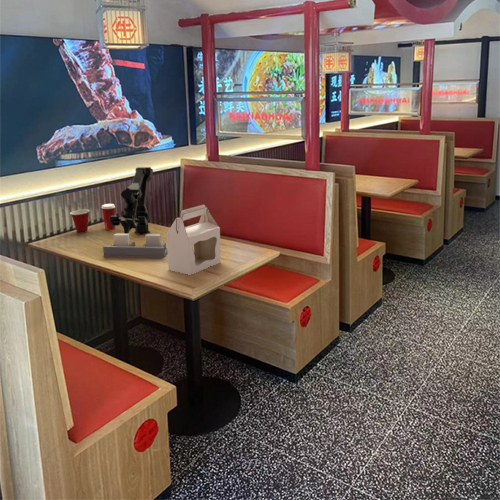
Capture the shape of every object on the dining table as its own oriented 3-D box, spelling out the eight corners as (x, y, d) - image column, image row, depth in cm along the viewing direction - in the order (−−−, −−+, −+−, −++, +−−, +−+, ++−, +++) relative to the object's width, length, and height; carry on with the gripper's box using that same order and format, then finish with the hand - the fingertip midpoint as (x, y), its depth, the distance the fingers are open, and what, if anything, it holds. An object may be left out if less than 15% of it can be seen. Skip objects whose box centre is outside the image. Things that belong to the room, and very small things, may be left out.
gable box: (189, 276, 241) (186, 214, 233) (167, 270, 249) (164, 210, 240) (221, 262, 258) (219, 204, 250) (200, 257, 266) (198, 201, 257)
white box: (148, 249, 275) (147, 233, 273) (161, 249, 275) (160, 234, 272) (146, 251, 272) (145, 235, 270) (160, 251, 272) (159, 235, 269)
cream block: (117, 248, 277) (115, 233, 274) (130, 248, 276) (129, 233, 274) (114, 250, 274) (113, 235, 271) (128, 250, 273) (127, 235, 271)
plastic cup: (73, 229, 316) (71, 209, 313) (93, 228, 318) (91, 208, 314) (70, 234, 306) (67, 213, 303) (89, 233, 307) (87, 213, 304)
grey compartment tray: (112, 248, 280) (111, 239, 278) (169, 250, 277) (169, 240, 276) (103, 256, 268) (102, 247, 266) (163, 258, 265) (163, 248, 263)
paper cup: (119, 227, 320) (117, 204, 315) (112, 230, 313) (110, 207, 308) (107, 226, 322) (105, 203, 318) (100, 229, 315) (98, 206, 311)
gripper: (151, 217, 293) (147, 243, 286) (117, 216, 294) (112, 242, 287) (146, 206, 283) (142, 232, 276) (111, 205, 284) (106, 231, 277)
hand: (125, 235), depth 279 cm, fingers closed
